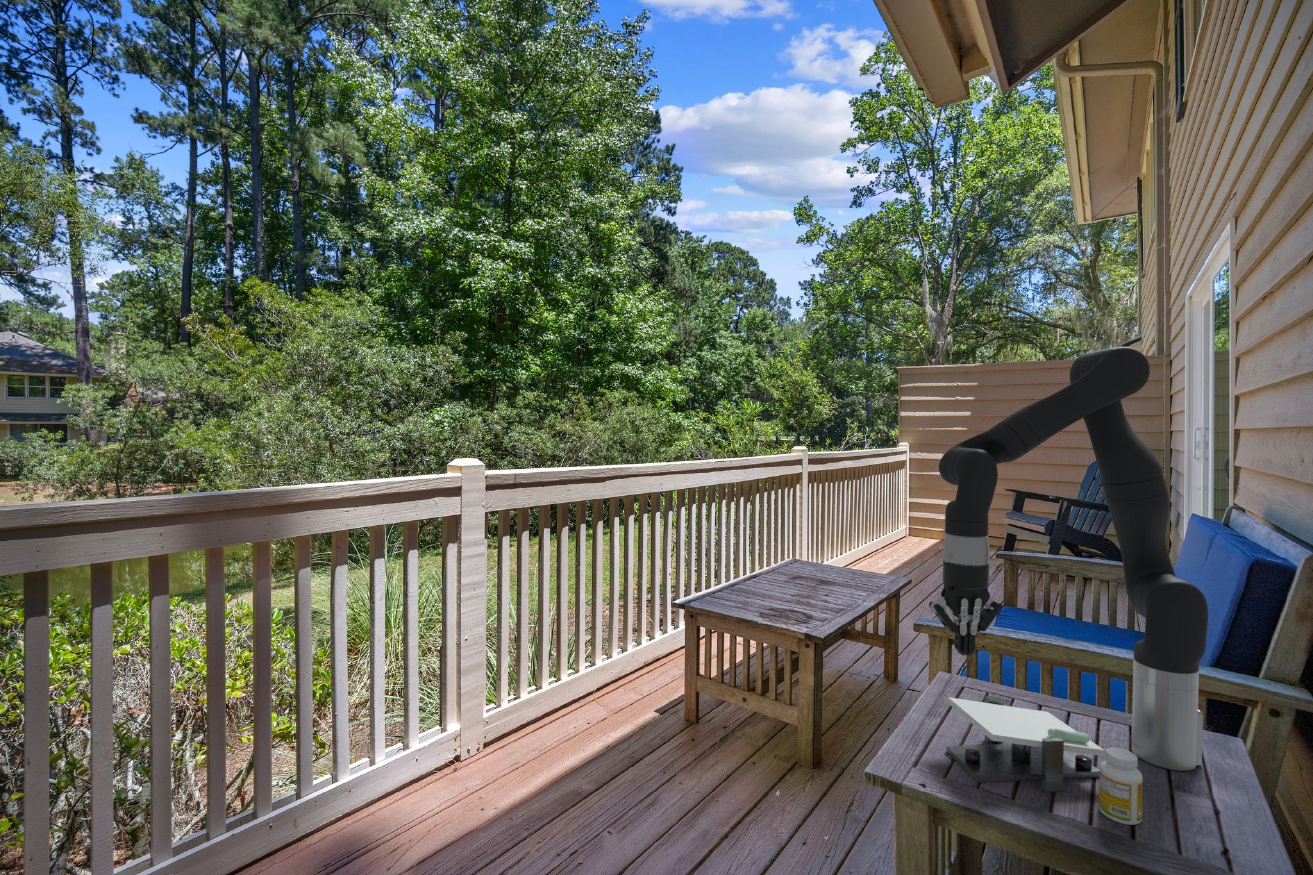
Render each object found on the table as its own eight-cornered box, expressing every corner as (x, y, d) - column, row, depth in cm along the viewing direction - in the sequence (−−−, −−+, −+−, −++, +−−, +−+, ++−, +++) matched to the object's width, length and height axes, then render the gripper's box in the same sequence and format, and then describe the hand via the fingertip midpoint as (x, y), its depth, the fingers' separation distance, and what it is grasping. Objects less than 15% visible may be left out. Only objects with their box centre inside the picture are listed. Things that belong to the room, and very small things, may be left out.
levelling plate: (1046, 716, 121) (1049, 703, 121) (1103, 756, 107) (1106, 740, 107) (947, 702, 119) (949, 688, 119) (991, 740, 105) (994, 724, 105)
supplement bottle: (1123, 804, 101) (1124, 744, 101) (1151, 825, 96) (1152, 762, 96) (1090, 804, 101) (1091, 744, 101) (1116, 826, 96) (1117, 763, 96)
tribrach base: (1046, 737, 122) (1047, 693, 122) (1117, 788, 105) (1118, 738, 105) (936, 741, 121) (937, 697, 121) (990, 794, 104) (991, 743, 104)
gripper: (989, 553, 119) (987, 645, 119) (920, 554, 118) (918, 647, 118) (1014, 562, 111) (1012, 660, 112) (941, 564, 110) (939, 662, 111)
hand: (964, 653), depth 115 cm, fingers closed
